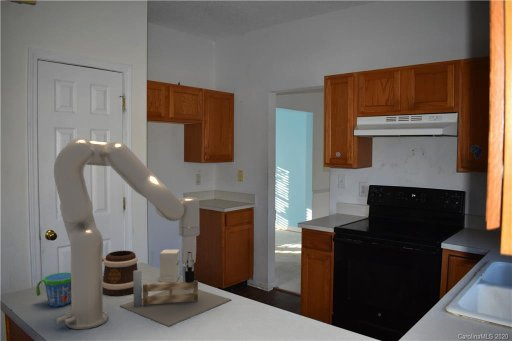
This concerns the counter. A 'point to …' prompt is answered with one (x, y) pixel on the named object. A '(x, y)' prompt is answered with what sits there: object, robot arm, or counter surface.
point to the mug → (119, 272)
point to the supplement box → (169, 265)
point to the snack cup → (57, 288)
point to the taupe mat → (177, 307)
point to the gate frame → (138, 286)
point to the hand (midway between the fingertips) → (189, 279)
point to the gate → (170, 292)
